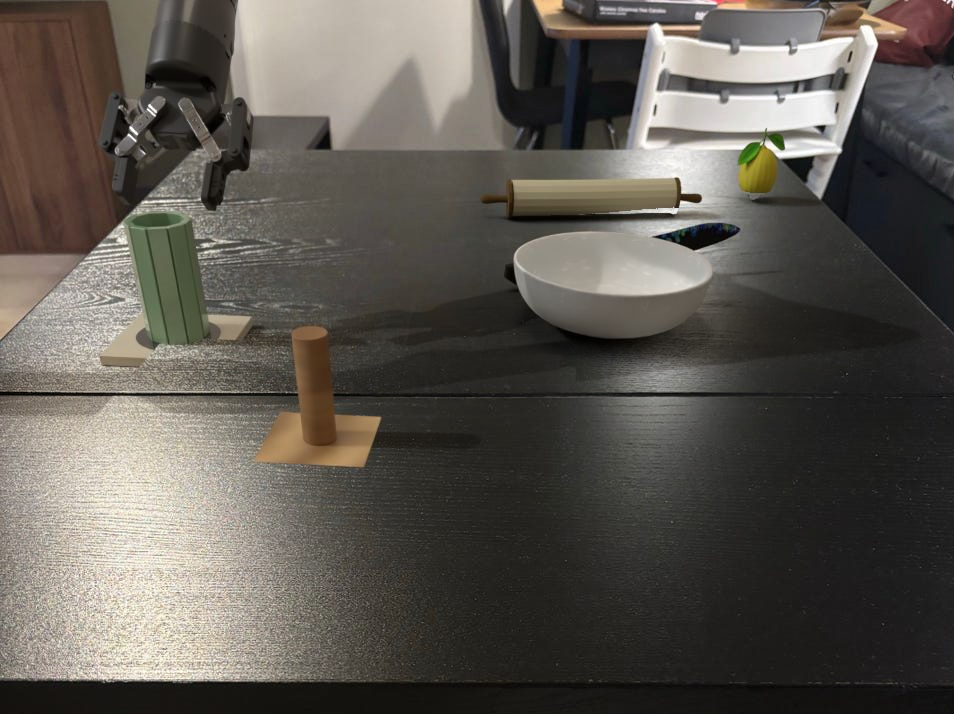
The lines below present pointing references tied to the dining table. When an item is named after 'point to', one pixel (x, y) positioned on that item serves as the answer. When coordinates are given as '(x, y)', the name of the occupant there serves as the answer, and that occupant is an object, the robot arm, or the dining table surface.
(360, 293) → the dining table surface
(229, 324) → the plate
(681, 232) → the knife
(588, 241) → the serving bowl
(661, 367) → the dining table surface
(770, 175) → the lemon
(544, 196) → the rolling pin
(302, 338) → the peg stand
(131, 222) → the ceramic tube
